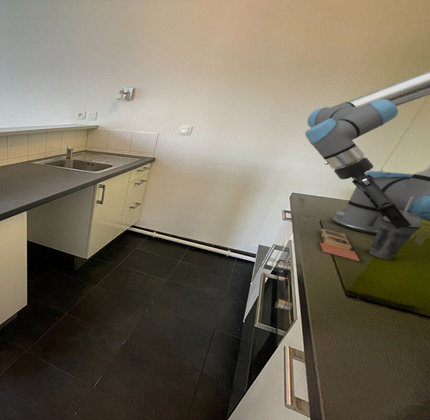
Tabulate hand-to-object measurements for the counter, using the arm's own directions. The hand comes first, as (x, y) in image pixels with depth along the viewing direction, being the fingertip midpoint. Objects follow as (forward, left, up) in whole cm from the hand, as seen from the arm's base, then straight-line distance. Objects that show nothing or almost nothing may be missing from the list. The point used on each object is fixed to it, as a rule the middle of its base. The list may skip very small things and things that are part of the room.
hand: (396, 220), depth 75 cm
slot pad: (+10, -5, -12) cm, 17 cm away
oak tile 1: (-2, -11, -12) cm, 17 cm away
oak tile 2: (+4, -8, -12) cm, 15 cm away
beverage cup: (-1, +1, -12) cm, 12 cm away
